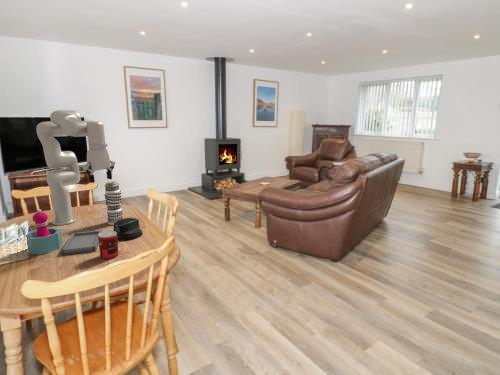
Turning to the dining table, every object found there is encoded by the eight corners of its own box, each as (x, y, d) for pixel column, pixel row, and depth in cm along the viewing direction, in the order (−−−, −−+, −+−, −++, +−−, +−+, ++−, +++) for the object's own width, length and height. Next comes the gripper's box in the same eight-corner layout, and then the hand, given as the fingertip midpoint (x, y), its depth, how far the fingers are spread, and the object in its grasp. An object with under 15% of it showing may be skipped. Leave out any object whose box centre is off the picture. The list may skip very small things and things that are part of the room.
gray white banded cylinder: (127, 221, 187) (123, 181, 182) (114, 225, 179) (110, 184, 174) (117, 218, 191) (113, 180, 186) (104, 223, 183) (99, 183, 178)
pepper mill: (57, 246, 151) (51, 207, 146) (43, 252, 144) (37, 212, 140) (46, 244, 153) (40, 206, 149) (32, 250, 147) (25, 210, 142)
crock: (34, 244, 153) (31, 229, 151) (64, 241, 157) (62, 226, 155) (23, 256, 141) (20, 240, 139) (57, 252, 145) (54, 236, 143)
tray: (73, 237, 162) (72, 233, 161) (102, 234, 166) (101, 230, 166) (62, 255, 142) (61, 250, 141) (95, 251, 146) (95, 246, 145)
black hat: (140, 243, 156) (138, 226, 154) (100, 243, 155) (98, 226, 153) (150, 229, 175) (149, 213, 173) (115, 229, 175) (113, 214, 172)
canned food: (104, 252, 145) (101, 230, 142) (121, 251, 146) (119, 230, 143) (97, 259, 137) (94, 237, 135) (115, 259, 138) (113, 236, 136)
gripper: (108, 145, 160) (111, 177, 164) (75, 148, 145) (80, 183, 149) (117, 146, 156) (120, 178, 160) (85, 149, 142) (89, 184, 146)
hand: (101, 180), depth 155 cm, fingers open, 9 cm apart
